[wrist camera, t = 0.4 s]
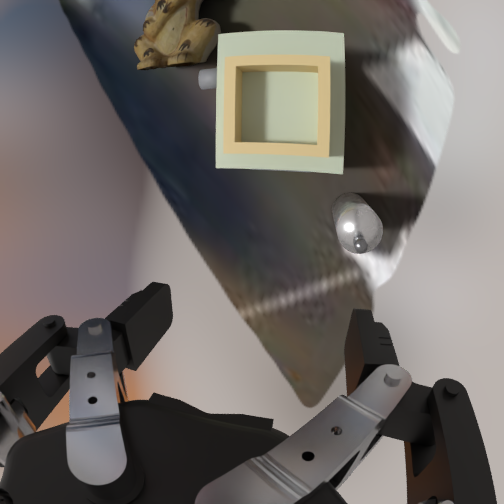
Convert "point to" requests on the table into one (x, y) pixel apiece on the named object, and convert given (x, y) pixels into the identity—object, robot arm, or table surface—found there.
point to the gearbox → (279, 100)
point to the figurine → (175, 35)
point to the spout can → (356, 223)
